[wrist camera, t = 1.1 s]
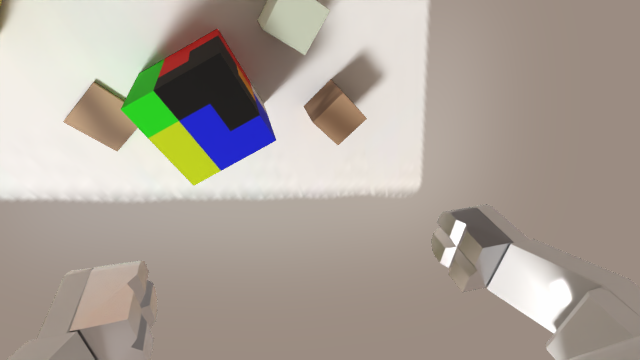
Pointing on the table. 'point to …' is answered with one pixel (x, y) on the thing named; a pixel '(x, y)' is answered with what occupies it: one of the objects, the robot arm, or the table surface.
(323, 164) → the table surface
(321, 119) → the walnut block
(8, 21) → the table surface
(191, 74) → the puzzle toy
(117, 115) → the swatch tile
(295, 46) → the sage block
